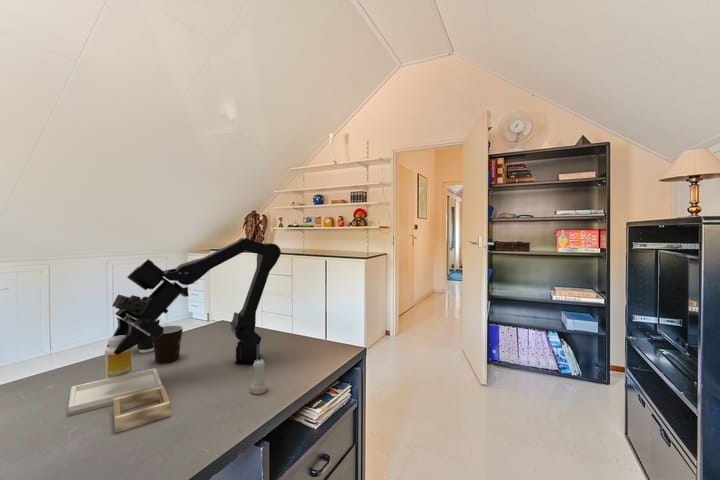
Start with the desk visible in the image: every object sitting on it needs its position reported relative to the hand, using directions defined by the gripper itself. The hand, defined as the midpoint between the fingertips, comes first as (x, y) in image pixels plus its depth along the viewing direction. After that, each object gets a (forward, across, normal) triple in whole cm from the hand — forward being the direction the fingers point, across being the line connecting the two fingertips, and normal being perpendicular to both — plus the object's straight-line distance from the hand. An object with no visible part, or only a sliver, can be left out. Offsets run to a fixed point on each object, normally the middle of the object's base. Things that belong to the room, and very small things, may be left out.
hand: (111, 351), depth 80 cm
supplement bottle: (+4, 0, +6) cm, 7 cm away
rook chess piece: (-9, +27, +26) cm, 38 cm away
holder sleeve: (+7, +15, +9) cm, 19 cm away
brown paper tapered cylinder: (-5, -14, +22) cm, 26 cm away
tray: (+7, 0, +9) cm, 11 cm away
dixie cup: (-4, -27, +20) cm, 34 cm away
